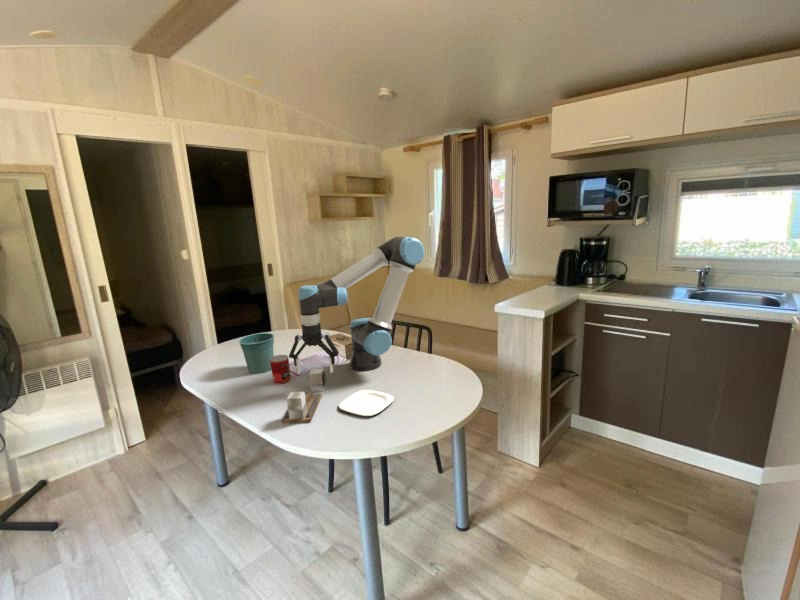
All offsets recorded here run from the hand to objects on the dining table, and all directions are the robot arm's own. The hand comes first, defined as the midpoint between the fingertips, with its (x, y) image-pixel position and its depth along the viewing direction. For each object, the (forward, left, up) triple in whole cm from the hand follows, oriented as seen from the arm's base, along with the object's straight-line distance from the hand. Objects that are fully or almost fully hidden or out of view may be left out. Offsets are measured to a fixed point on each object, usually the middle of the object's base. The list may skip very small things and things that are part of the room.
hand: (315, 372), depth 158 cm
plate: (-22, +16, -8) cm, 29 cm away
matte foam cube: (0, 0, -8) cm, 8 cm away
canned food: (+19, -11, -8) cm, 23 cm away
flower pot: (+34, -26, -8) cm, 43 cm away
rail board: (+2, +17, -8) cm, 18 cm away
